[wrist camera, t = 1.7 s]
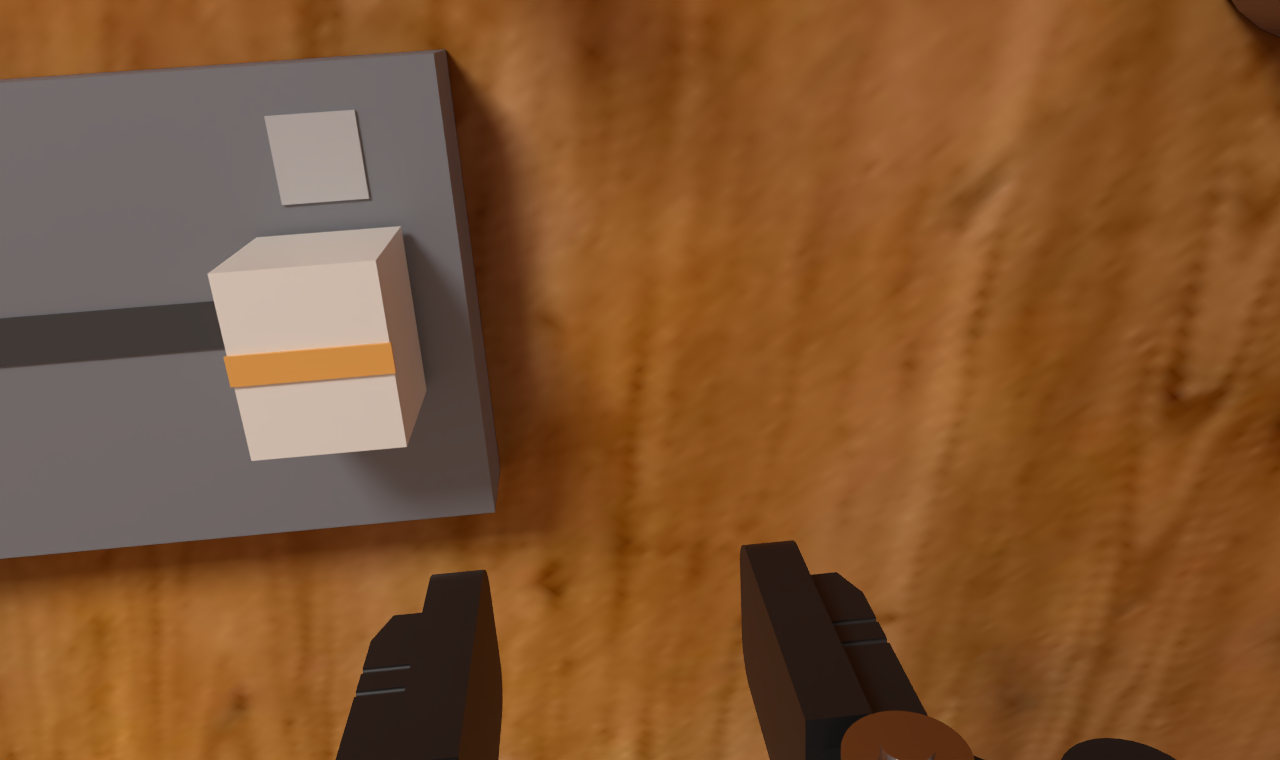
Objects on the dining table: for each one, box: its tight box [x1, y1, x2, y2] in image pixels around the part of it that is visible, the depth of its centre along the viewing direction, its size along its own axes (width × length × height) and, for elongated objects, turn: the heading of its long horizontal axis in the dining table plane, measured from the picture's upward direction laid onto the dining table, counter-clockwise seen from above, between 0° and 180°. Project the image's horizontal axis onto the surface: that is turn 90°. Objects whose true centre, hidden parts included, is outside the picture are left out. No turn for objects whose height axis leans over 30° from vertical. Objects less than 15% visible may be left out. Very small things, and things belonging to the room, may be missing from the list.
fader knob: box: [208, 226, 427, 461], centre depth 26 cm, size 4×5×4 cm
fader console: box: [0, 49, 500, 559], centre depth 29 cm, size 21×14×3 cm, turn 94°
